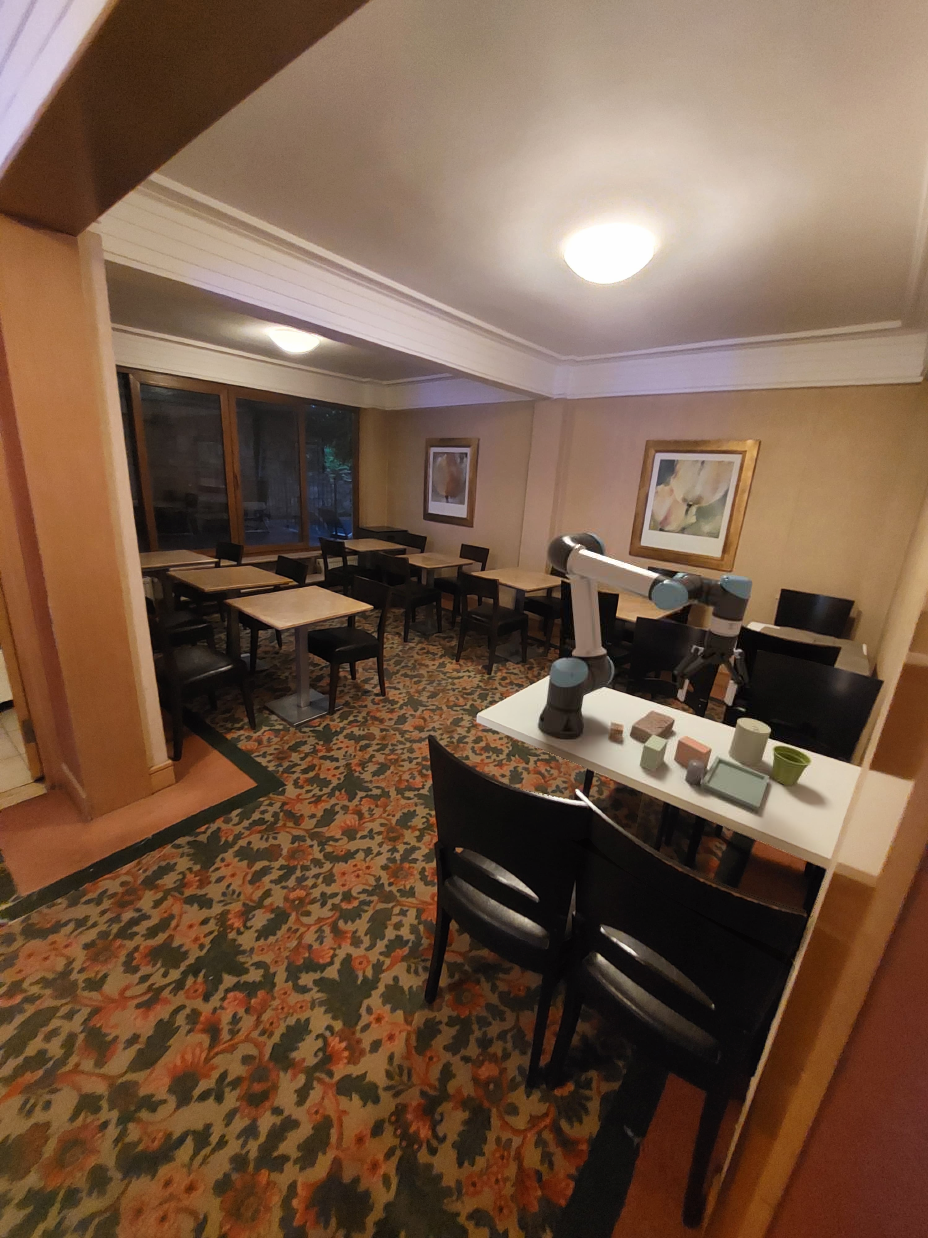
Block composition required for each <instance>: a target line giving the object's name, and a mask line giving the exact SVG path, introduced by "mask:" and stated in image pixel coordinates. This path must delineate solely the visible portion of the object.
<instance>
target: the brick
mask: <svg viewBox="0 0 928 1238" xmlns="http://www.w3.org/2000/svg"><path fill="white" fill-rule="evenodd" d="M675 722H676V719H675V718H674V717H671V716H670V715H667V714H664V713H661V712H658V711H654V710H650V711H649V712H647V714H645V716H644V717H641V718H640V719H638V720H637V721H635V722H634V723H633V724H632V726H631V729H630V733H629V736H630V737H631V738H634V739H636V740H639V741H641V742H642V743H644V744H645V743H646V742H647V741H648V740H649V739H650V737H651V736H652V735H655V736H658V737H660V738H663V739H664V737H665V736H666V735H668V733H670V732H671V731H672V730H673V728H674V726H675V725H674V724H675Z"/></svg>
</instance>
